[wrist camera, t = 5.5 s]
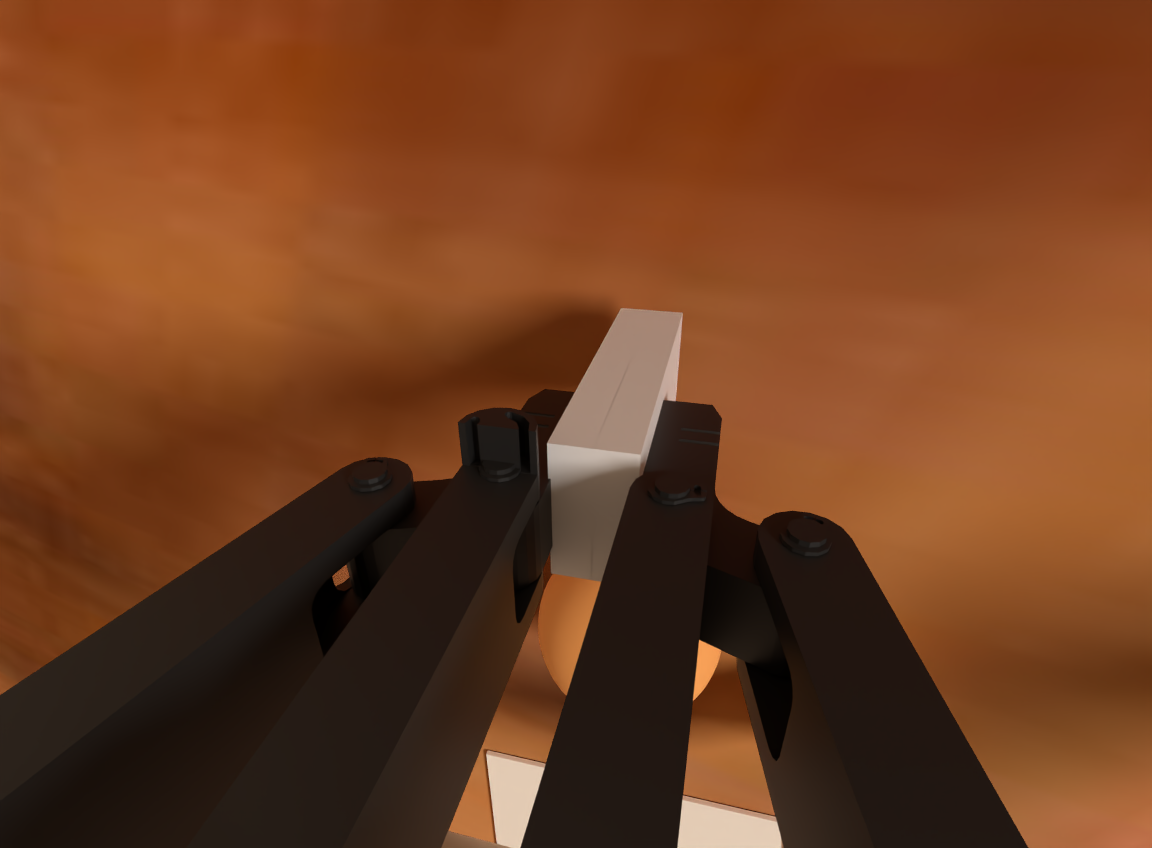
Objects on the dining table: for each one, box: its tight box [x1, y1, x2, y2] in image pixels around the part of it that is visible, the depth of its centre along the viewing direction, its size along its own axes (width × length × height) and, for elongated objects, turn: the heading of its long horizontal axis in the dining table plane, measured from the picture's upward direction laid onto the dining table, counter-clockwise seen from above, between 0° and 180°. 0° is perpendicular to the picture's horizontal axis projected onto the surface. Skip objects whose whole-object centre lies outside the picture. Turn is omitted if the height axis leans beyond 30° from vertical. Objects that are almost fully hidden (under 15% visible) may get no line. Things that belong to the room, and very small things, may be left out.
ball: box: [538, 574, 721, 701], centre depth 19 cm, size 6×6×6 cm
